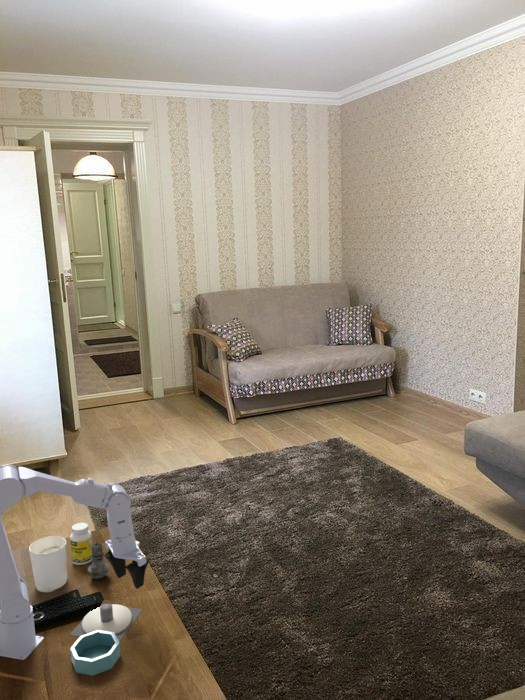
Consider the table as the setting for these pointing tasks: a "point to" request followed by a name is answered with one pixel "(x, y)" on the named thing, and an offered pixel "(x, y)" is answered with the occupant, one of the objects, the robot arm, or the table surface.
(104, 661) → the bowl
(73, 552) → the pill bottle
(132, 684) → the table surface
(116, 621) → the lid
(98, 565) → the salt shaker
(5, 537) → the robot arm
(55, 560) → the candle holder
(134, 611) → the mat
